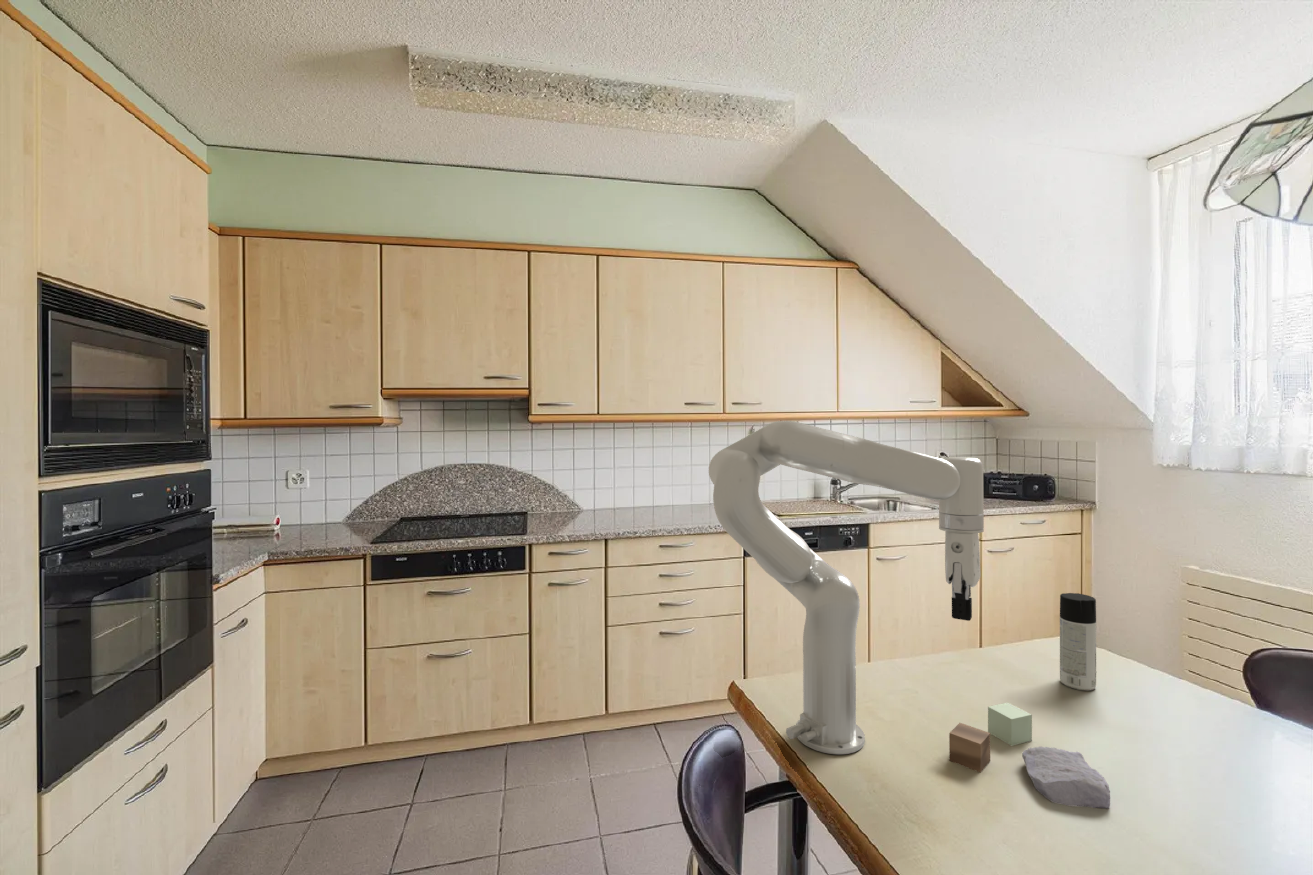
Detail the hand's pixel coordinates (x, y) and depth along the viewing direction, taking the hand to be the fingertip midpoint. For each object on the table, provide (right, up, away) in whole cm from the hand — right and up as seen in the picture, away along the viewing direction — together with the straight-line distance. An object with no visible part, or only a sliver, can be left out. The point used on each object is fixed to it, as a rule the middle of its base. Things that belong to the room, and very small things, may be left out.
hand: (961, 618), depth 110 cm
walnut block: (-3, -22, -9) cm, 24 cm away
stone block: (+8, -23, -15) cm, 29 cm away
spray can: (+36, -21, +20) cm, 47 cm away
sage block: (+8, -22, -1) cm, 24 cm away
